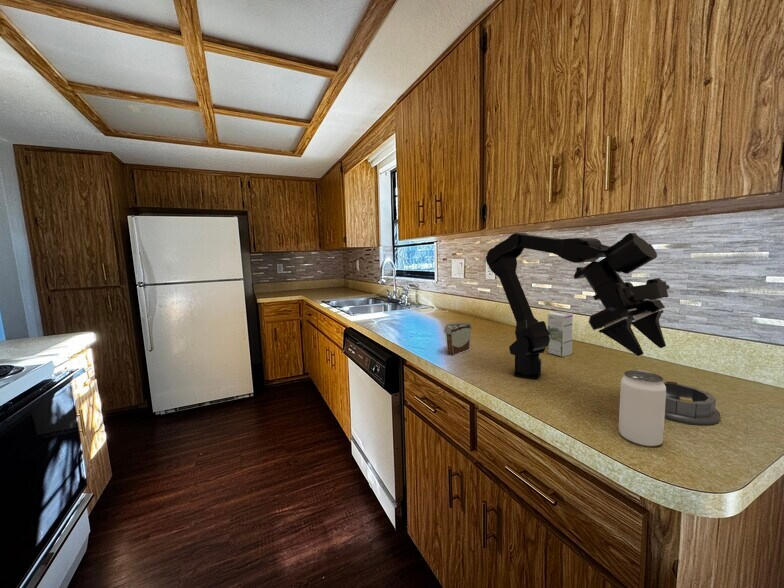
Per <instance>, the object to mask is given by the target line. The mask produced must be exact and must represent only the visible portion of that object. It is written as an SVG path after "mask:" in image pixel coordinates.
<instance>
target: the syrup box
mask: <svg viewBox="0 0 784 588" xmlns="http://www.w3.org/2000/svg"><path fill="white" fill-rule="evenodd" d="M573 314H574V313H571V312H565V311H558V310H557V311H550V312H547V330H548V332H549V333H550V335H549V338H550V342H549V344H548V346H547V347H546V348H547V349H546V350H547V352H546V353H547V354H548V355H549V354H550V355H552V354H553V355H552V356H556V355H557V356H556V357H561V358H564V356H565V357H568V356H571V355H572V354H573V325H574V323H573V322H574V320H573V319H574V318H573V317H574V315H573ZM570 354H571V355H570ZM567 355H568V356H567Z"/></svg>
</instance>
